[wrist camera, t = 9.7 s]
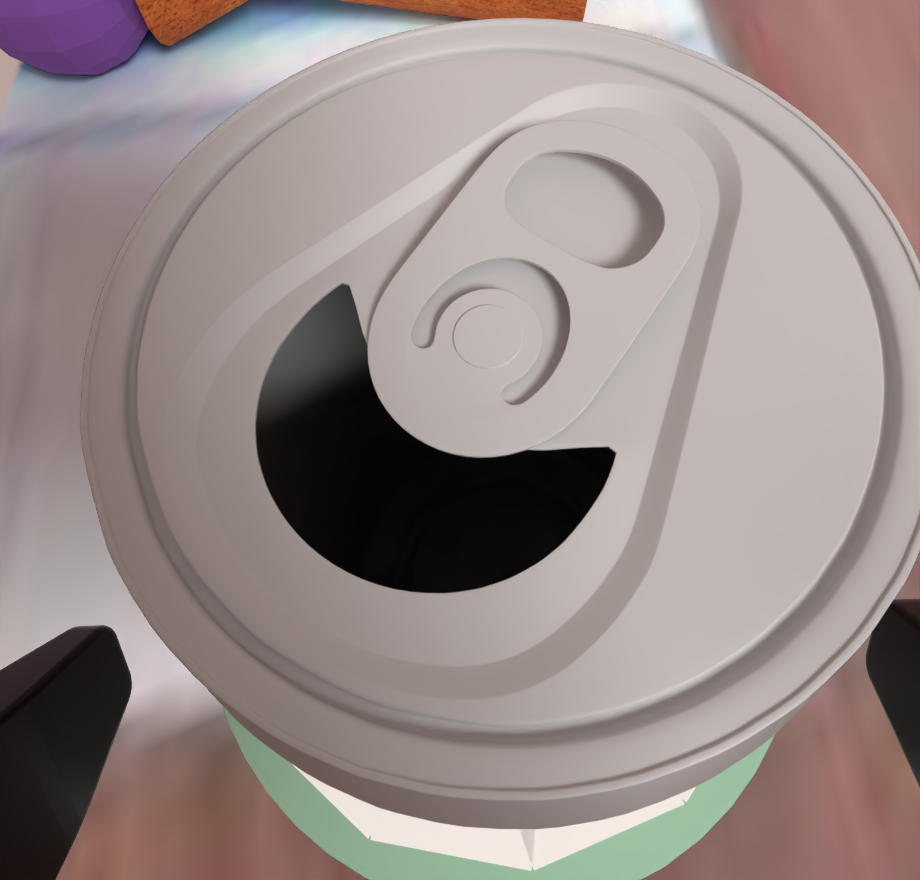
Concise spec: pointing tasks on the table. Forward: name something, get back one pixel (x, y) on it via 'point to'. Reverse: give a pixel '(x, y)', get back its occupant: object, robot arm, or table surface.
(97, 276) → the table surface
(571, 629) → the beverage can
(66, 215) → the table surface
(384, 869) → the cup
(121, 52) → the kendama
